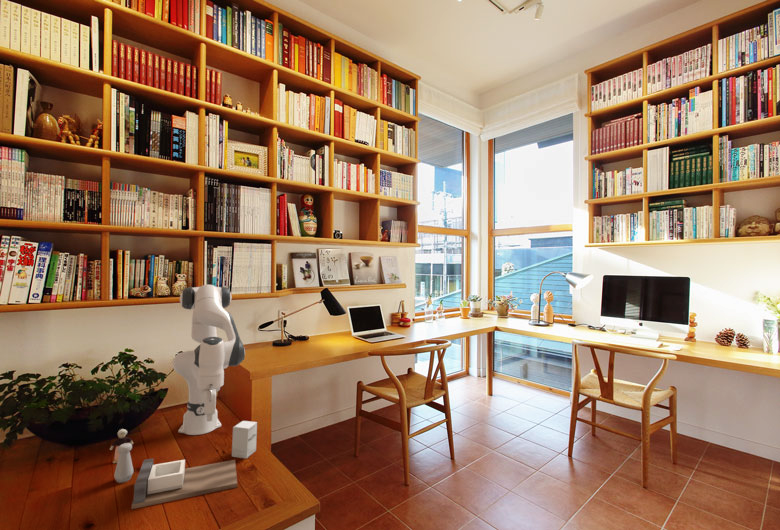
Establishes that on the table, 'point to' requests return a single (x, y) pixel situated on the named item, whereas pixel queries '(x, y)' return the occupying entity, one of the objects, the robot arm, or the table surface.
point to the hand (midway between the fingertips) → (209, 418)
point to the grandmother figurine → (120, 442)
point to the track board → (186, 483)
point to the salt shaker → (124, 463)
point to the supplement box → (244, 439)
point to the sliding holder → (166, 476)
